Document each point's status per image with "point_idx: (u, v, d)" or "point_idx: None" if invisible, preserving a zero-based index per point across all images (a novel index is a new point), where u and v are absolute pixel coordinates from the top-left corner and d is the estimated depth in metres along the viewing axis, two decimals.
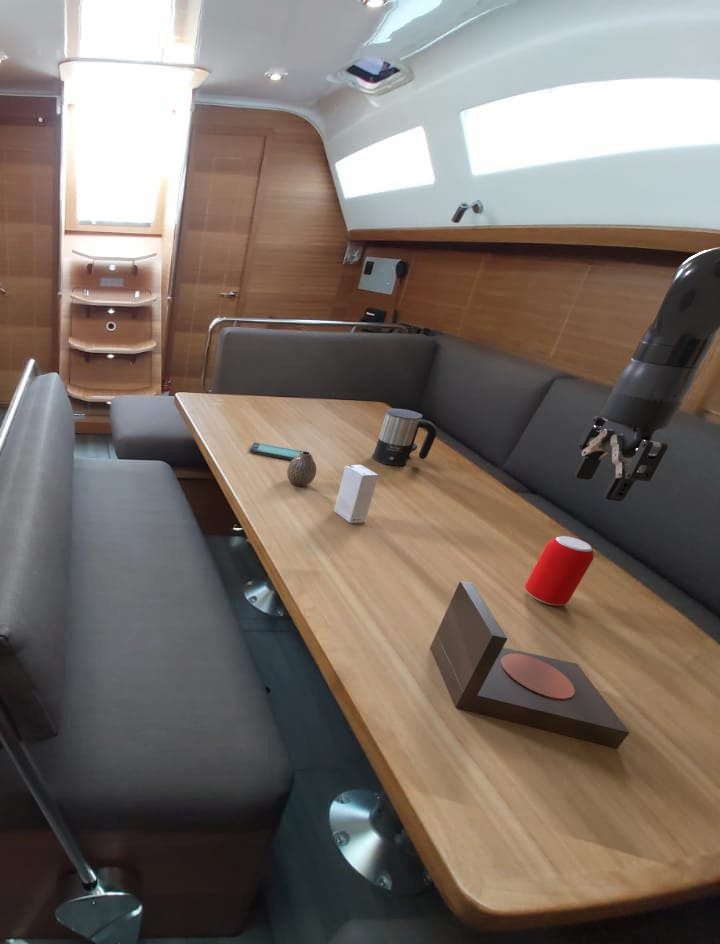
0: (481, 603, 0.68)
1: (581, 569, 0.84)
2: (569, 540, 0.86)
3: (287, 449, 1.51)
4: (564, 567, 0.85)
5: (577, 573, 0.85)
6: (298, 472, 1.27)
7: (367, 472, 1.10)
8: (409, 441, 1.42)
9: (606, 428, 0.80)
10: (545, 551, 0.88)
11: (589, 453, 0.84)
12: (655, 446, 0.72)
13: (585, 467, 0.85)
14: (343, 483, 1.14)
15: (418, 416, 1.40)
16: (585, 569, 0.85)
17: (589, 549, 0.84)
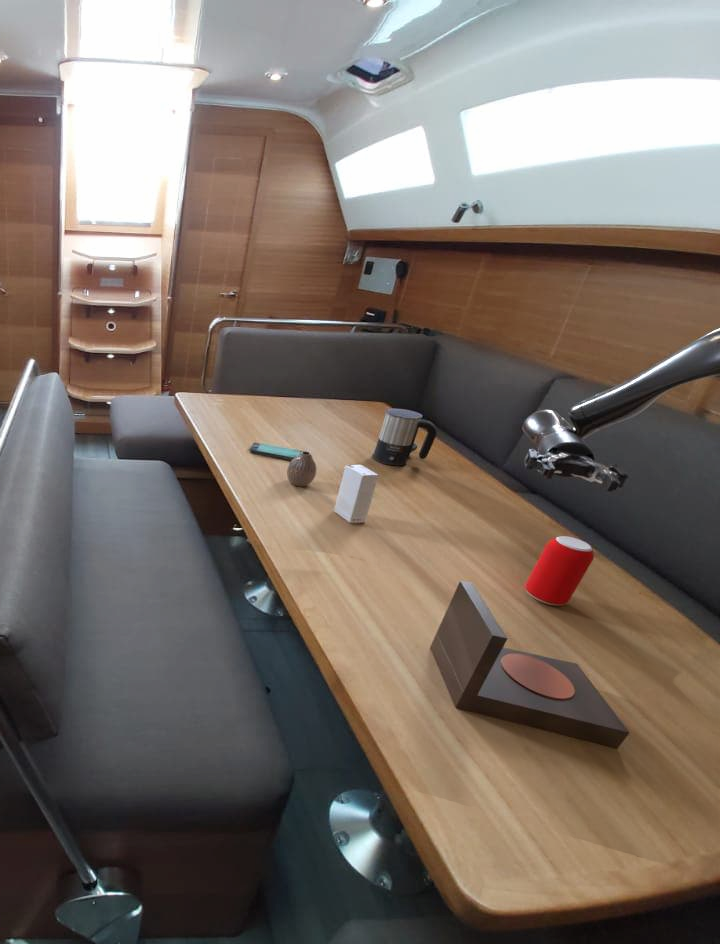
0: (481, 603, 0.68)
1: (581, 568, 0.84)
2: (569, 540, 0.86)
3: (287, 449, 1.51)
4: (564, 566, 0.85)
5: (577, 573, 0.85)
6: (298, 472, 1.27)
7: (367, 472, 1.10)
8: (409, 441, 1.42)
9: None
10: (545, 551, 0.88)
11: (600, 481, 0.93)
12: (526, 455, 1.02)
13: (605, 484, 0.91)
14: (343, 483, 1.14)
15: (418, 416, 1.40)
16: (585, 569, 0.85)
17: (589, 549, 0.84)
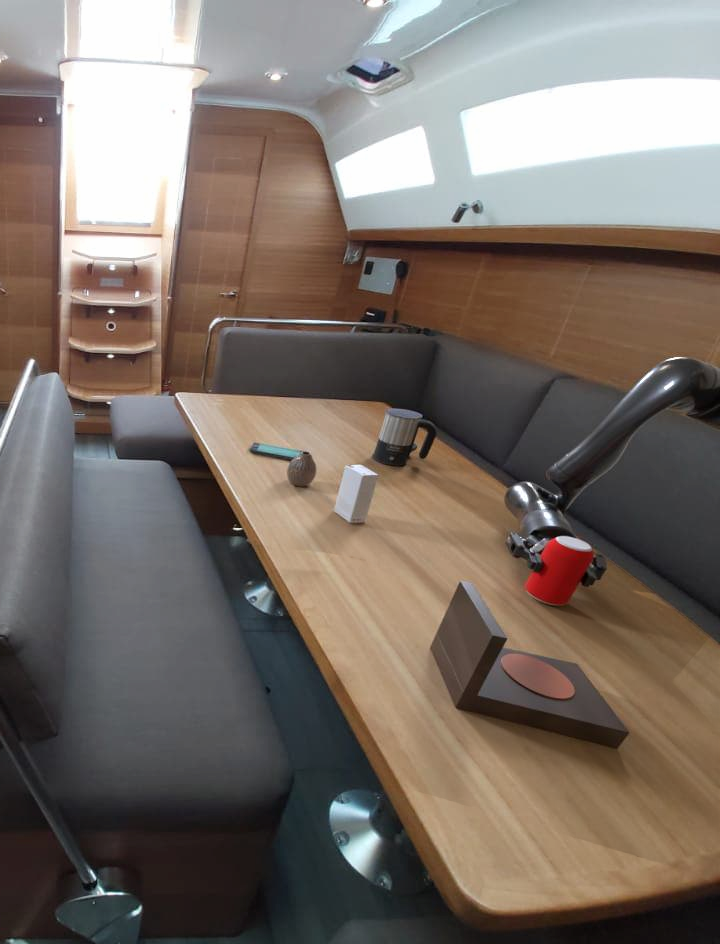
0: (481, 603, 0.68)
1: (581, 569, 0.84)
2: (569, 540, 0.86)
3: (287, 449, 1.51)
4: (564, 567, 0.85)
5: (577, 573, 0.85)
6: (298, 472, 1.27)
7: (367, 472, 1.10)
8: (409, 441, 1.42)
9: None
10: (545, 551, 0.88)
11: None
12: None
13: None
14: (343, 483, 1.14)
15: (418, 416, 1.40)
16: (585, 569, 0.85)
17: (589, 549, 0.84)
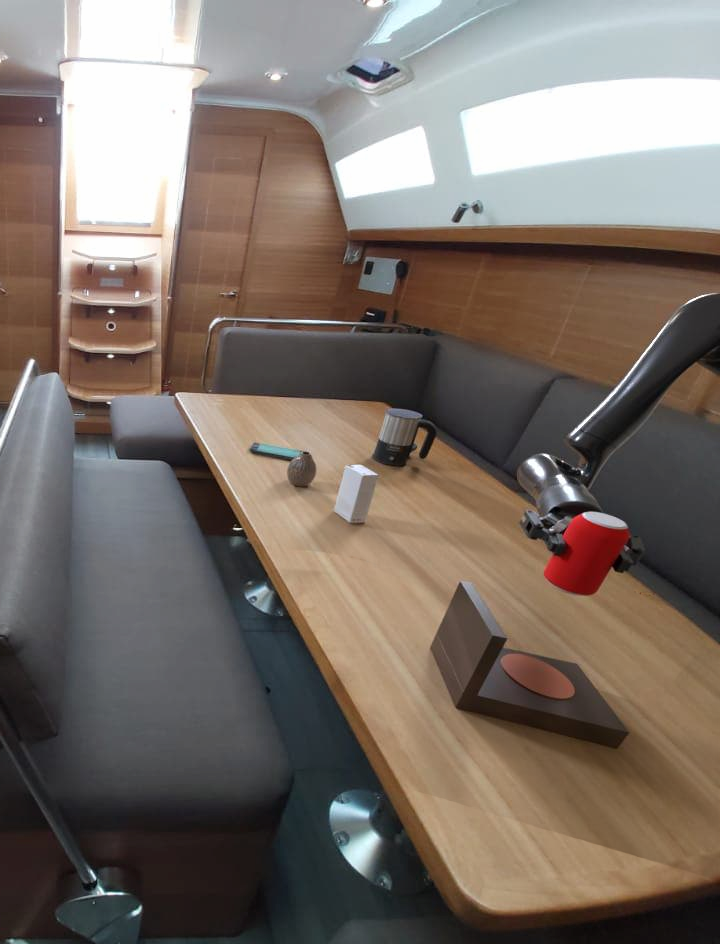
0: (481, 603, 0.68)
1: (614, 551, 0.69)
2: (599, 516, 0.71)
3: (287, 449, 1.51)
4: (593, 548, 0.70)
5: (609, 556, 0.69)
6: (298, 472, 1.27)
7: (367, 472, 1.10)
8: (409, 441, 1.42)
9: None
10: (569, 530, 0.72)
11: None
12: (522, 517, 0.81)
13: None
14: (343, 483, 1.14)
15: (418, 416, 1.40)
16: (619, 551, 0.69)
17: (624, 526, 0.68)
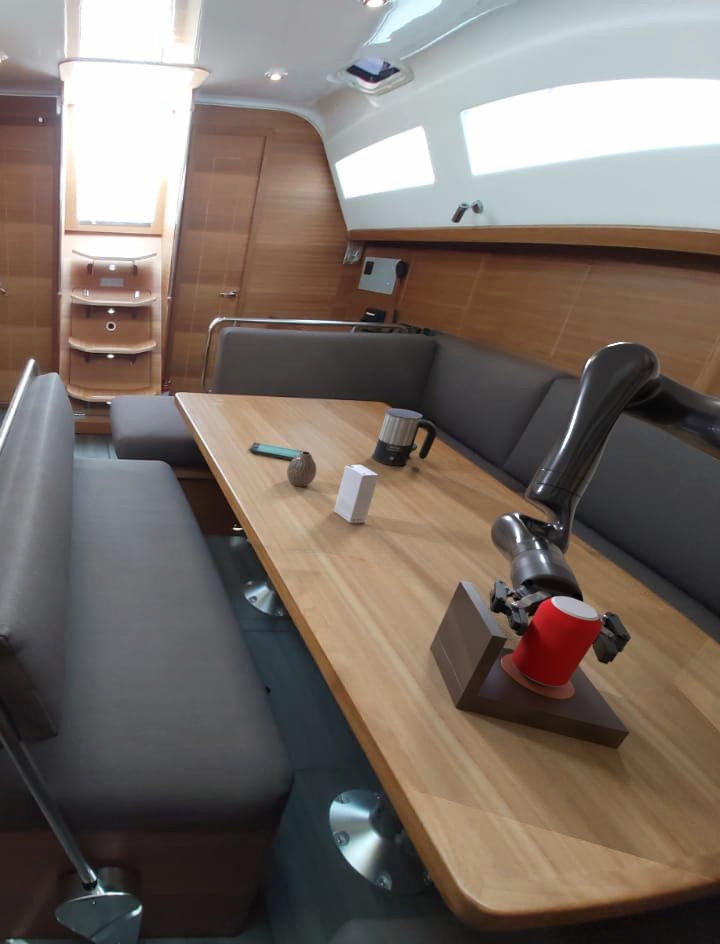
0: (481, 603, 0.68)
1: (585, 643, 0.63)
2: (569, 603, 0.65)
3: (287, 449, 1.51)
4: (562, 639, 0.64)
5: (580, 648, 0.64)
6: (298, 472, 1.27)
7: (367, 472, 1.10)
8: (409, 441, 1.42)
9: None
10: (537, 616, 0.67)
11: None
12: (492, 587, 0.76)
13: (597, 649, 0.65)
14: (343, 483, 1.14)
15: (418, 416, 1.40)
16: (590, 643, 0.64)
17: (595, 617, 0.63)
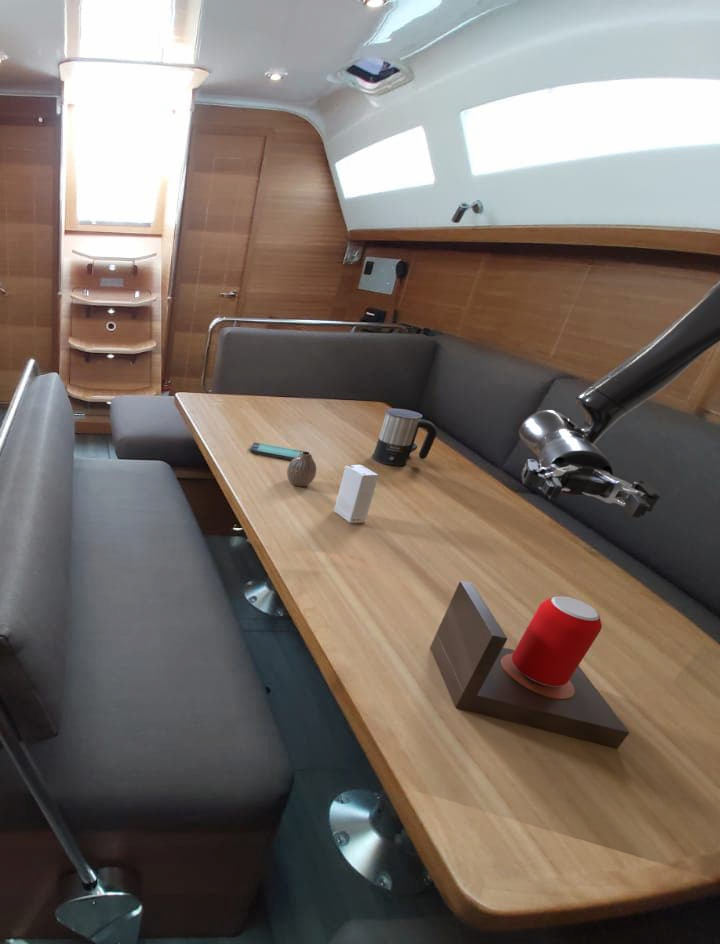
0: (481, 603, 0.68)
1: (585, 643, 0.63)
2: (569, 603, 0.65)
3: (287, 449, 1.51)
4: (562, 639, 0.64)
5: (580, 648, 0.64)
6: (298, 472, 1.27)
7: (367, 472, 1.10)
8: (409, 441, 1.42)
9: None
10: (537, 616, 0.67)
11: (621, 503, 0.70)
12: (524, 467, 0.79)
13: (629, 507, 0.68)
14: (343, 483, 1.14)
15: (418, 416, 1.40)
16: (590, 643, 0.64)
17: (595, 617, 0.63)
